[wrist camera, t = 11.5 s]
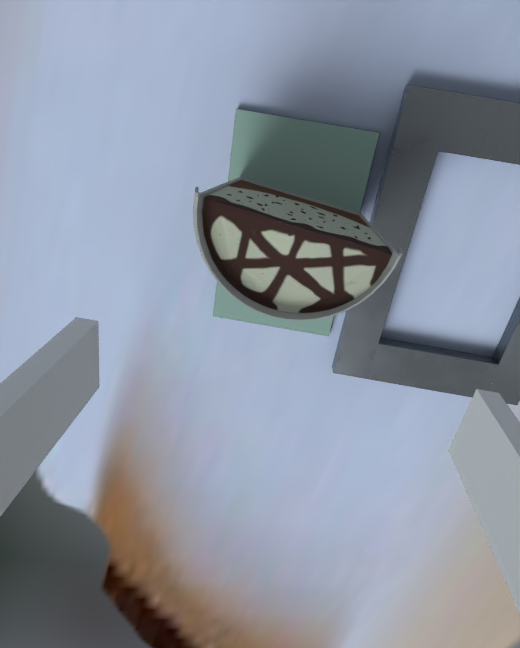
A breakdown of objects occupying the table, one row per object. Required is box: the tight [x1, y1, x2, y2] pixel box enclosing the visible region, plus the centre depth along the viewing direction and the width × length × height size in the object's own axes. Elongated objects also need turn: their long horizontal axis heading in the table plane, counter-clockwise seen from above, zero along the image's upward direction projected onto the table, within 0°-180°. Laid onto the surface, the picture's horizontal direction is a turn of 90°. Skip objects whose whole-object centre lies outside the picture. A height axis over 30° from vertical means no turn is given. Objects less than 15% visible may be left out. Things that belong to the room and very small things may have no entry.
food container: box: [193, 177, 402, 321], centre depth 29 cm, size 12×6×10 cm, turn 74°
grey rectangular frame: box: [332, 85, 520, 405], centre depth 33 cm, size 16×22×1 cm
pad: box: [213, 109, 379, 336], centre depth 33 cm, size 10×16×1 cm, turn 171°
